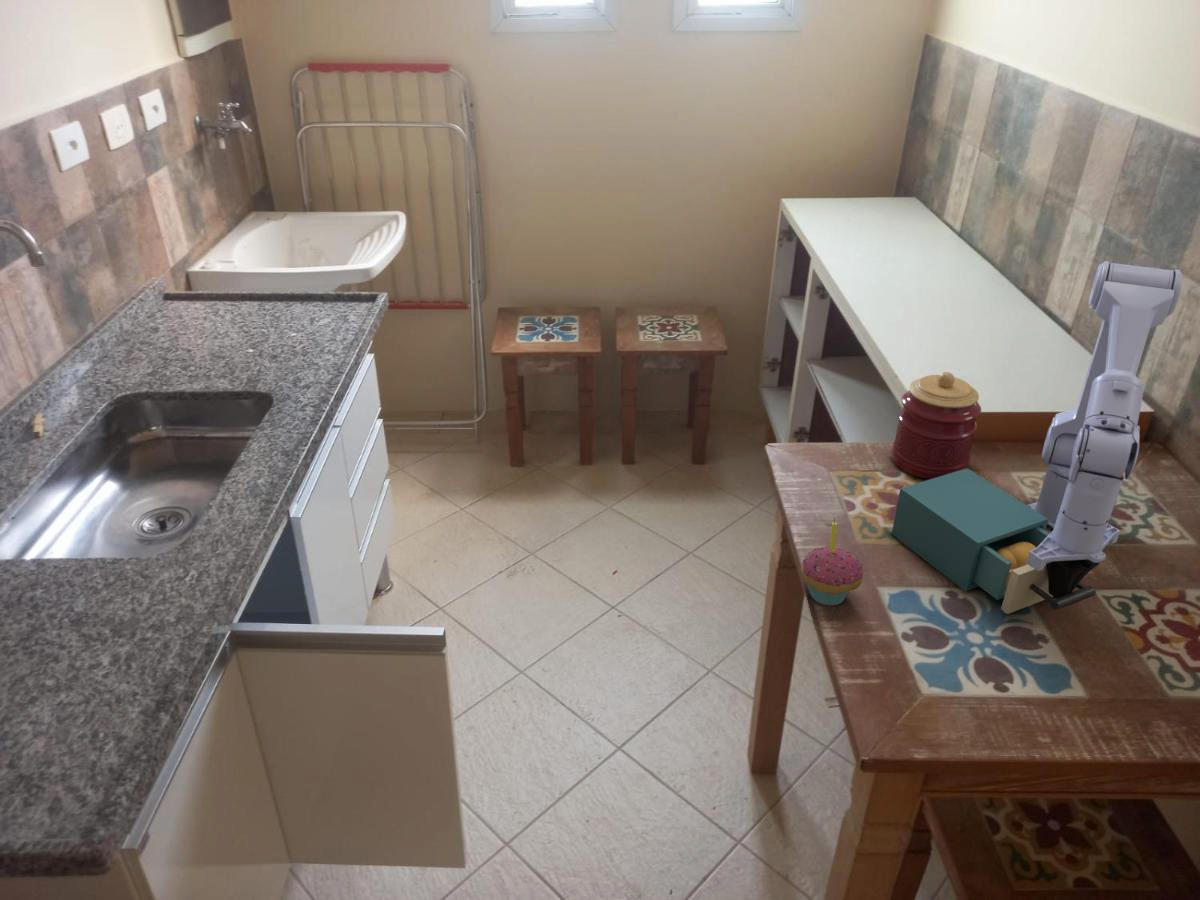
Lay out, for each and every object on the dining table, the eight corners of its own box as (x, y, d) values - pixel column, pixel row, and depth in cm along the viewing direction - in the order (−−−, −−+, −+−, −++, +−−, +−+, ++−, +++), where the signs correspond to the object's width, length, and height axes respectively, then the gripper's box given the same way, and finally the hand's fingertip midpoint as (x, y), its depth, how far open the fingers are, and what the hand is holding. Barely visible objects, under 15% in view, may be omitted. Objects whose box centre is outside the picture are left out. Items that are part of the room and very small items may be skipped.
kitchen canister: (956, 489, 149) (978, 396, 140) (881, 468, 155) (897, 378, 146) (975, 456, 158) (996, 367, 149) (903, 437, 164) (919, 351, 155)
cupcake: (790, 578, 129) (799, 510, 122) (847, 574, 129) (859, 507, 123) (807, 617, 121) (818, 547, 115) (867, 613, 122) (881, 543, 116)
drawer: (1102, 609, 121) (1116, 570, 117) (1036, 636, 116) (1049, 596, 113) (993, 535, 136) (1002, 498, 132) (931, 556, 131) (939, 518, 128)
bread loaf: (1018, 558, 129) (1025, 533, 127) (1041, 574, 126) (1049, 548, 123) (979, 571, 126) (986, 546, 124) (1002, 588, 123) (1009, 563, 121)
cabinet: (1034, 566, 130) (1048, 518, 126) (965, 591, 126) (978, 543, 121) (956, 513, 143) (967, 468, 138) (891, 534, 138) (900, 488, 133)
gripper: (1070, 544, 107) (1043, 629, 113) (1151, 514, 112) (1120, 597, 119) (1024, 514, 112) (1000, 597, 119) (1103, 488, 117) (1076, 568, 124)
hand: (1057, 595), depth 119 cm, fingers closed, pressing on drawer
